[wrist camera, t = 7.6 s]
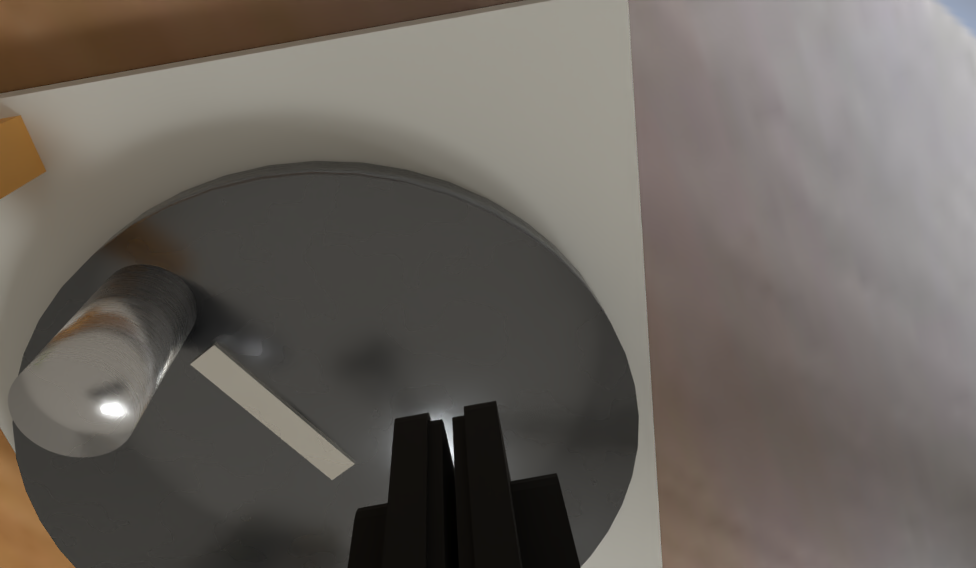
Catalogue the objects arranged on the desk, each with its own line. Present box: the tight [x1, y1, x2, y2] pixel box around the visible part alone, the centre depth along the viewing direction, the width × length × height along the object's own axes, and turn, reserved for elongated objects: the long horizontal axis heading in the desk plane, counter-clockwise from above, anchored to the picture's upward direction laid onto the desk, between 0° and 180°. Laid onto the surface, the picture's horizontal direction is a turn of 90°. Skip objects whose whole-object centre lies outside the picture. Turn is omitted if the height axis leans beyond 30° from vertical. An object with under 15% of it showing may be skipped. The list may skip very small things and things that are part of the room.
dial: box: [8, 161, 639, 568], centre depth 21 cm, size 20×20×6 cm
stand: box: [0, 0, 662, 568], centre depth 23 cm, size 22×24×5 cm
